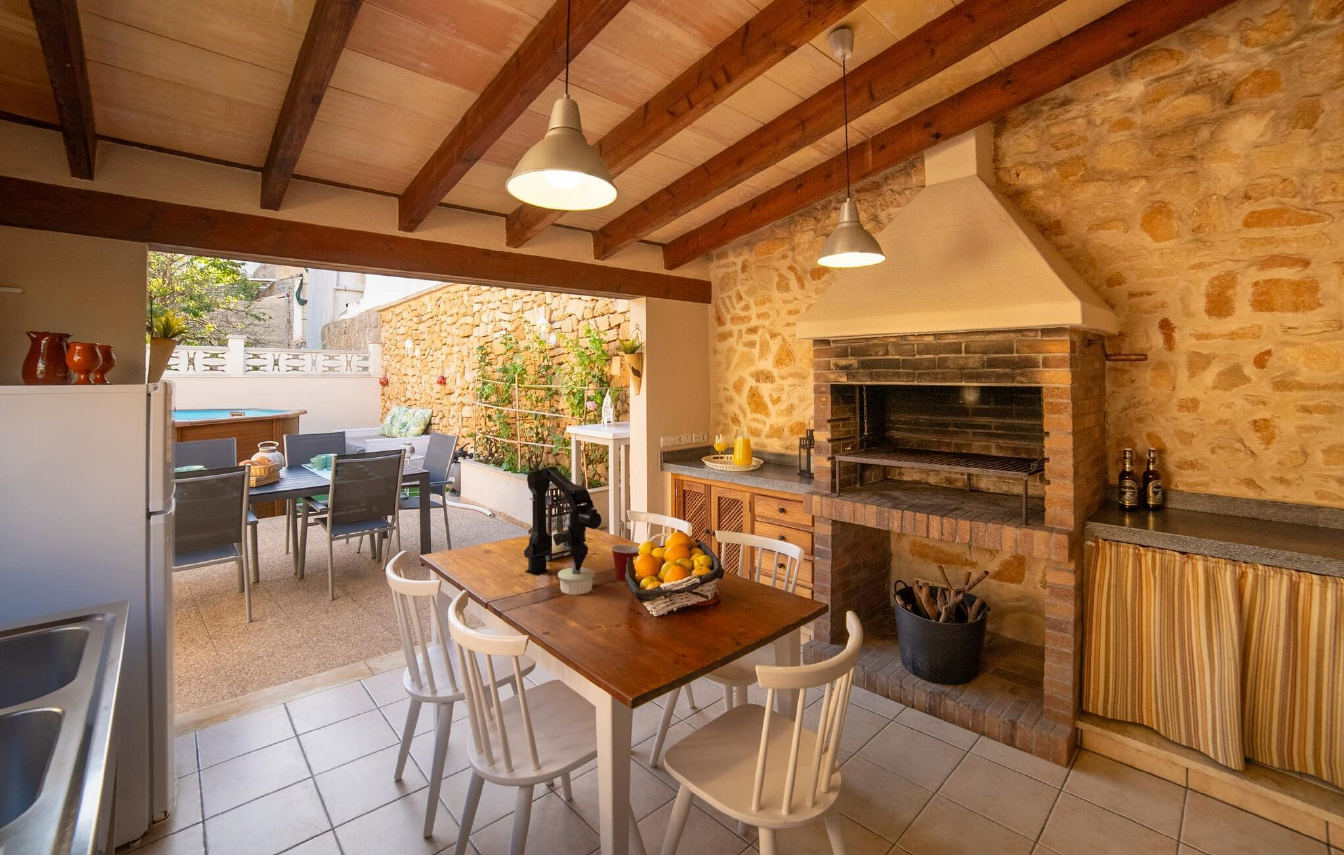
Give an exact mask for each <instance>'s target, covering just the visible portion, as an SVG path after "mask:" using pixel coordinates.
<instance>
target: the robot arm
mask: <svg viewBox="0 0 1344 855" xmlns="http://www.w3.org/2000/svg"><path fill="white" fill-rule="evenodd" d="M526 480H527V486H528V487H527V488H528V489H529V491H530V493H531V494H532V527H533V528H532V532H531V534H530V537H529V539H528V545H527V547H525V549H524V551H523V555H524V557H525V558H526V559H528V564H527V565H528V568H527V569H526V570H525V573H529V574H532V575H536V576H539V575H541V574H544V573H546V572H549V569H548V568H547V557H548V556H550V555H551V551H552V546H553V542H552V541H554V544H555V546H556V547H558V546H560V545H562V544H564V543H567V545H568V547H569V548H568V549H569V550H568V551H569V555H570V556H572V557H573V558H572V559H573V563H574V562H575V567H576V571H578V570H580V568H581V567H582V565H583V563H584V560H585V559H586V556H587V555H588V553H589V546H588V544H587V543H586V542H587V539H586V531H587V528H589V529H591V530H597V529H598V528H599V527H600V526H601V524H602V515H601V514H600V513H598V509H597V508H595V506H594V502H593V500H592V499H591V495H590V492H589V490H588V489H587V488H586V487H584V486H582V485H579V484H577V483H576V484H575V483H574V482H573V481H571V480H570V479H569V478H567V476H566V475H564V474H563V473H562V472H561V471H560V469H559V468H558V467H557V466H546V467H543V468H542V469H539V470H536V471H535V470H534V471H530V472H529V473H528V474H527V477H526ZM551 483H552V484H553V485H554V486H555V487H556V488H557V489H558V490H559V491H560V492H562V494H563V499H564V500H565V501H566V503H567V504H568V505H567V506H566V507H565V509H566V510H567V511H569V512H568V515H569V516H568V526H567V528H566V529H565V530H564V529H563V530H561V531H559V532H557V533H554V534H552V535H550V534H549V532H548V530H547V496H546V494H547V492H548V491H549V489H550V487H551ZM533 499H534V501H533ZM552 539H553V540H552Z"/></svg>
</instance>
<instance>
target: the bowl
mask: <svg viewBox="0 0 1344 855" xmlns="http://www.w3.org/2000/svg"><path fill="white" fill-rule="evenodd" d="M559 580H560V581H559V582H560V584H559V588H560V592H561V593H563V594H565V595H568V596H580V595H586V594H588V593H590V592H591V591H592V588H593V578H592V579H590V580H587V581H582V582H568V581H563V580H561V579H559Z"/></svg>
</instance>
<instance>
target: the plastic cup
mask: <svg viewBox="0 0 1344 855" xmlns="http://www.w3.org/2000/svg"><path fill="white" fill-rule="evenodd" d="M611 551H612V556H613V562H614V563H613V564H614V570H615V575H616V579H617V581H618V580H619V581H622V582H623V581H625V573H626V564H627V558H629V557H630V556H636V555H637V556H638V553H639V552H640V548H639V547H637V546H632V545H627V544H626V545H624V544H617V545H612V546H611Z"/></svg>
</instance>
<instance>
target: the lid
mask: <svg viewBox="0 0 1344 855" xmlns="http://www.w3.org/2000/svg"><path fill="white" fill-rule="evenodd" d="M595 574H596V573H595V571H594V570H593V569H591V568H588V567H582V566H581V568H580V570H578V571H576V567H575V562H574V561H573V562H572V566H571V567H569V568H568V567H567V568H564V569H561V570H559V572H557V578H558V579H559V580H560V579H561V580H563V581H568V582H582V581H587V580H590V579H592V580H593V579H594V578H595V576H596V575H595Z"/></svg>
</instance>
